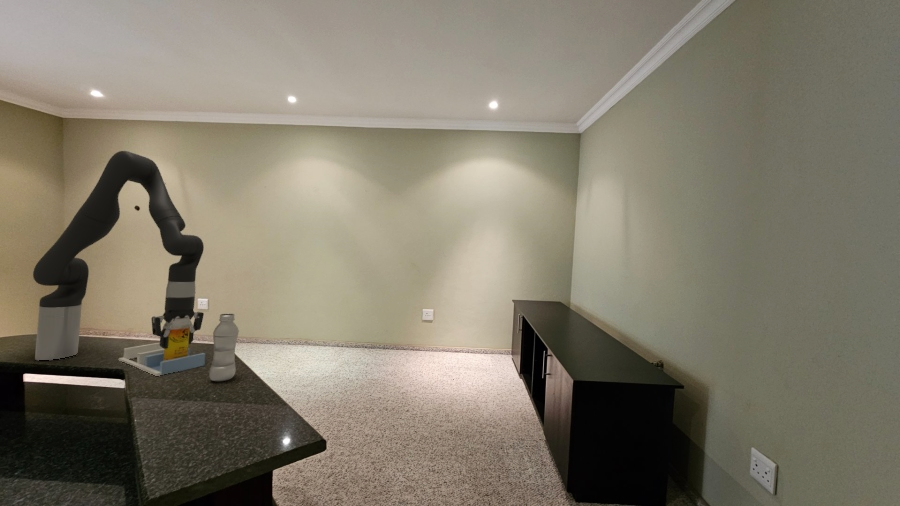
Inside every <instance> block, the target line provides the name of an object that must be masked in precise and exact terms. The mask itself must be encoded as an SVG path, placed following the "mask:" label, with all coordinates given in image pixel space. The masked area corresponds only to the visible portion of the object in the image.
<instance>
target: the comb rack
mask: <svg viewBox="0 0 900 506" xmlns="http://www.w3.org/2000/svg"><path fill="white" fill-rule="evenodd" d="M190 353H191V348H189V347H188V356H186V357H181V358H177V359H172V360H167V361H163V359H164V348H162V347H160V342H154V343H148V344H142V345H138V346H137V345H136V346H130V347H124V348H123V356H122V357H119V358H118V360H119V361H122V362H125V363H127V364H130V365H133V366H135V367H137V368H139V369H141V370H143V371H146V372H148V373H150V374H149V375H151V374H153V375H155V376H159V377H161V376H160V375H163V376H165V375H164V374H167V375H169V374H168V373H171V374H174V373H173V372H175V373H178V371H179V372H182V371H187V370H190V369H195V368H199V367H203V366H204V367H205V364H206V353H205V352H202V353H197V354H191V355H190ZM134 357H137V359H136V361H135V360H134V361H133V360H129V359H130V358H134ZM119 361H118V362H119ZM122 362H121V363H122ZM144 364H145V365H144ZM141 370H140V371H141ZM143 371H142V372H143ZM146 372H145V373H146ZM148 373H147V374H148ZM153 375H152V376H153ZM155 376H154V377H155Z"/></svg>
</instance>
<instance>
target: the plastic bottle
mask: <svg viewBox="0 0 900 506" xmlns="http://www.w3.org/2000/svg"><path fill="white" fill-rule="evenodd" d="M218 320H219V324H217V325H216V327H215V328H214V329H213V333H212V336H213V337H212V339H213V357H212V363H211V365H210V368H209V372H208V373H209V374H208V375H209V379H210V380H211V381H212V382H224V381H229V380H231V379H233V377H234V376H235V373H236V370H237V369H236V362H235V360H236V359H235V355H236V354H235V353H236V346H237V341H238V336H239V331H240V330H239V327H238V326H237V324H236V323H235V322H234V321H235V313H229V312H228V313H222V314H220V315H219V319H218Z"/></svg>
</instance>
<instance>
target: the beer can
mask: <svg viewBox="0 0 900 506" xmlns="http://www.w3.org/2000/svg"><path fill="white" fill-rule="evenodd" d="M173 320H174V319H172V320H171V322H170V323H168V322H167V323H166V322H165V323H166V326H167V327H168V326H169V325H170V324H171V323H172V330H170V333H169V334H168V336H167V337H168V348H166V349H164V359H163V361H167V360H172V359H177V358H181V357H186V356H188V348H189V345H190V344H189V332H190V321H191V320H190V319H189V317H188V318H180V319H176V320H175V321H173Z"/></svg>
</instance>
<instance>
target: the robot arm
mask: <svg viewBox="0 0 900 506" xmlns="http://www.w3.org/2000/svg"><path fill="white" fill-rule="evenodd" d="M128 181H129V182H133V183H135V184H139V185H141V186H142V187H143V188H144V190H145V191H146V193H147V194H148V199H149V200H148V212H149V214H150V216H151V218H152V220H153V221H154V224H155V225H156V227H157V228H158V229H159V234H160V238H161V242H162V246H163V248H164V250H165V251H166V252H167V253H168V254H169V255H172V256H175V257H180V259H179V260H178V262H175V263H172V264H171V265H169V268H168V279H167V284H166V289H165V301H164V313H163V314H162V315H159V316H155V315H154V316H152V317H151V330H152V335H153V336H157V337H159V343H160V347H162V348H164V349H166V348H168V337H167V336H168V334H169V333H170V330H172V323H171V324H170V325H169V326H168V327H167V326H166V323H167V322H168V323H170V322H171V320H172V319H174V320H173V321H175V320H176V319H180V318H188V317H189V319H190V332H189V344H188V345H192V343H193V341H194V335H195V334H194V333H195V332H196V331H200V330H201V328H202V325H203V320H204V314H205V313H204V312H201V311H197V312H195V311H194V308H195V299H196V278H197V277H196V276H197V274H196V273H197V268H198V266H199V263H200V261H201V259H202V256H203V253H204V242H203V240H202V238H201V237H199V236H197V235H194V234H193V235H191V234H183V233H182V231H184V230H185V228H186V223H185V220H184V219H183V217H182V216H181V214H180V212H179V211H178V208H177V207H176V206H175V204H174V202H173V200H172V199H171V197H170V194H169V191H168V189H167V186H166V184H165V182H164V181H165V180H164V179H163V176H162V173H161V171H160V169H159V166H158V165H157V164H156V163H155V161H154V160H152V159H150V158H149V157H147V156H142V155H140V154H137V153H133V152H130V151H127V150H119V151H117V152H116V153H114V154H113V155H112V156H111V157H110V158H109V160H108V161H107V163H106V165H105V167H104V169H103V171H102V173H101V175H100V177H99V178H98V180H97V183H96V184H95V186H94V188H93V189H92V190H91V192H90V194H89V196H88V197H87V198H86V200H85V202H83V203H82V205H81V206H80V208H79V209H78V210H77V211H76V213H75V215H74V216H73V217H72V219H71V221H70V223H69V224H68V226H67V227H66V228H65V230H64V231H63V232H62V234H61V235H60V237H58V239H57V240H56V241H55V242H54V244H53V245H52V246H51V247H50V248H49V249H48V250H47V251H46V252H45V254H44V255H43V256H42V257H41V258H40V259H39V260H38V261H37V263H36V264H35V266H34V268H33V272H32V276H33V280H34V281H35V282H36V283H37V284H38V285H41V286H49V287H50V286H51V287H52V286H57V288H56V289H55V290H54V291H53V292H51V293H49V294H47V295H44V296H42V297H41V298H40V299H39V306H38V317H37V331H36V342H35V353H34V360H36V361H39V360H49V361H54V360H53V359H59V360H61V359H60V358H65V357H69V356H73V355H76V354H77V353H78V351H79V341H80V340H79V339H80V328H81V317H82V304H83V303H82V302H83V299H84V298H85V296H86V293H87V286H88V280H89V275H90V273H89V266H88V264H87V262H86V261H85V260H84V259H82V258H80V257H77V256H78V254H80V253H81V252H83V250H85V249H87V248H88V247H90V246H92V245H94V244H96V243H97V242H99V241H100V240H103V238H105V237H106V236H107V235H108V234H109V233H110V232H111V231H112V230H113V228H114V227H115V225H116V224H117V222H118V221H119V219H120V215H121V211H120V209H121V208H120V203H119V195H120V193H121V190H122V188H124V186H125V184H127V182H128ZM193 318H194V321H193V323H192V321H191V320H192V319H193ZM163 320H164V321H165V323H164V324H163V326H162V327H161V324H162V323H163ZM77 355H78V354H77ZM77 355H76V356H77ZM73 357H74V356H73ZM69 358H70V357H69ZM65 359H66V358H65Z"/></svg>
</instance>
